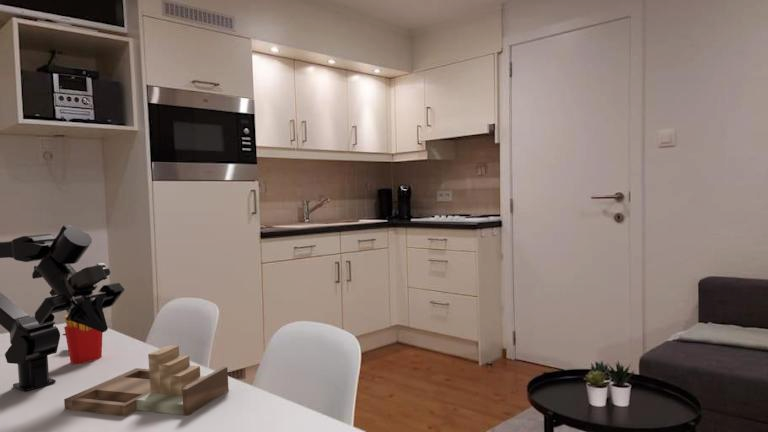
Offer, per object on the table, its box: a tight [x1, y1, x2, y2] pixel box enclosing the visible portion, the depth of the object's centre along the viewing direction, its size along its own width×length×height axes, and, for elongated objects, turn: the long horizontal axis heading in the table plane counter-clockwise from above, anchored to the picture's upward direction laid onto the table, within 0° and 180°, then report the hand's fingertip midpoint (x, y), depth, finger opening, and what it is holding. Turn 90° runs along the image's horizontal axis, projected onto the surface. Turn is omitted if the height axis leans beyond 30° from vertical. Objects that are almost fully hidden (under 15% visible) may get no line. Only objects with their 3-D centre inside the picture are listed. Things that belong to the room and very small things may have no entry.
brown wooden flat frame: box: [63, 366, 230, 417], centre depth 110 cm, size 27×19×5 cm
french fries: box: [64, 310, 105, 365], centre depth 139 cm, size 9×4×13 cm, turn 141°
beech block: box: [147, 345, 206, 396], centre depth 108 cm, size 10×6×8 cm, turn 72°
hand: (105, 330), depth 113 cm, fingers closed
